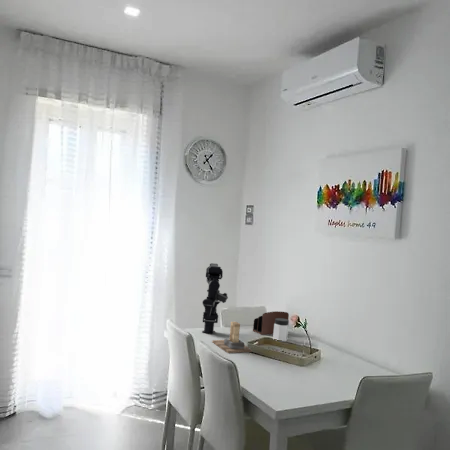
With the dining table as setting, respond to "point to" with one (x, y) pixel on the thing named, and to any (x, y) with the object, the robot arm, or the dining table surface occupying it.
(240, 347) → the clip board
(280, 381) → the dining table surface
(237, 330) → the tan wooden block
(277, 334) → the jar
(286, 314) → the letter holder
